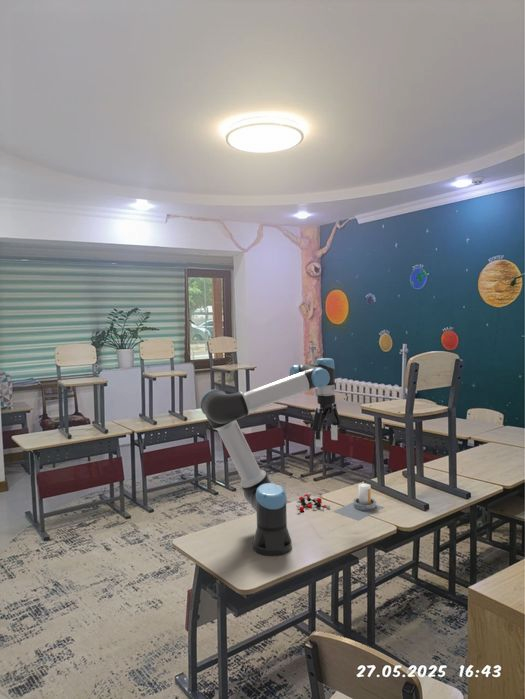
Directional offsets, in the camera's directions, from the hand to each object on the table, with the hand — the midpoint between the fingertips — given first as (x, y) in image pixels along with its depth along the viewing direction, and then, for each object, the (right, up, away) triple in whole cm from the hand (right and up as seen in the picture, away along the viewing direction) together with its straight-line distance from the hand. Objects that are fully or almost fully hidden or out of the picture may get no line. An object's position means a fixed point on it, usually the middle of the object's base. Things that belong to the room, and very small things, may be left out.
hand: (326, 443), depth 211 cm
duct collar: (+19, -32, +15) cm, 40 cm away
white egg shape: (+19, -32, +15) cm, 40 cm away
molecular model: (-4, -34, +18) cm, 39 cm away
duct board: (+16, -34, +12) cm, 39 cm away
